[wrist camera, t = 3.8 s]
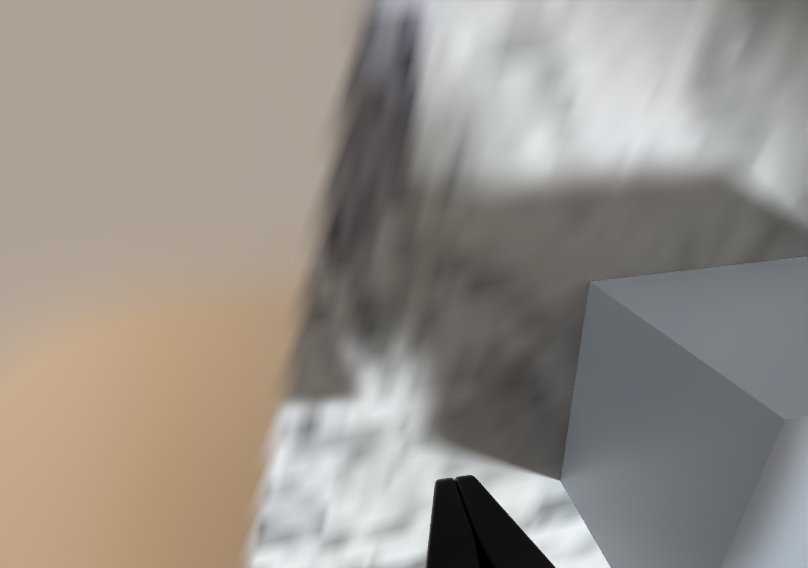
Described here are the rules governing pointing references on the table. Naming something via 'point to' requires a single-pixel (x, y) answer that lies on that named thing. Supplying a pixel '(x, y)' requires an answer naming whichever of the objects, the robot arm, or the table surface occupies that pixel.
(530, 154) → the table surface
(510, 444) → the table surface
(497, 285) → the table surface
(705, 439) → the blue-gray block
